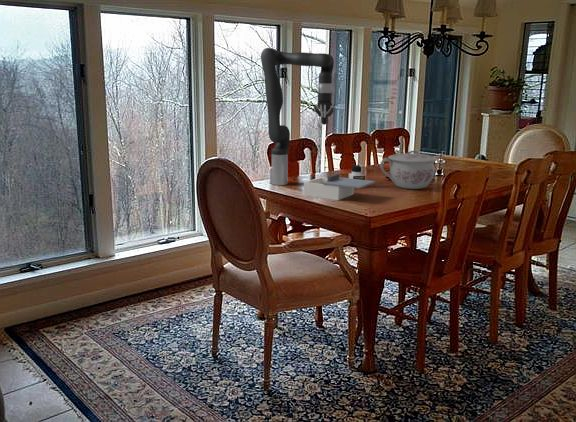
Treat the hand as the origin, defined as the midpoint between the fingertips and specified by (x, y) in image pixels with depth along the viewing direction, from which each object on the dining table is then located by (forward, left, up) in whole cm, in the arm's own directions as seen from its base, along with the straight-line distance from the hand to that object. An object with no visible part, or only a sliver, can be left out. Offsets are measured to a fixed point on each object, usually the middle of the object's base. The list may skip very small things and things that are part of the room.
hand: (324, 124), depth 304 cm
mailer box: (+14, -18, -35) cm, 41 cm away
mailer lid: (+25, -18, -27) cm, 41 cm away
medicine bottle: (+16, +11, -35) cm, 40 cm away
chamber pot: (+42, +27, -35) cm, 61 cm away
